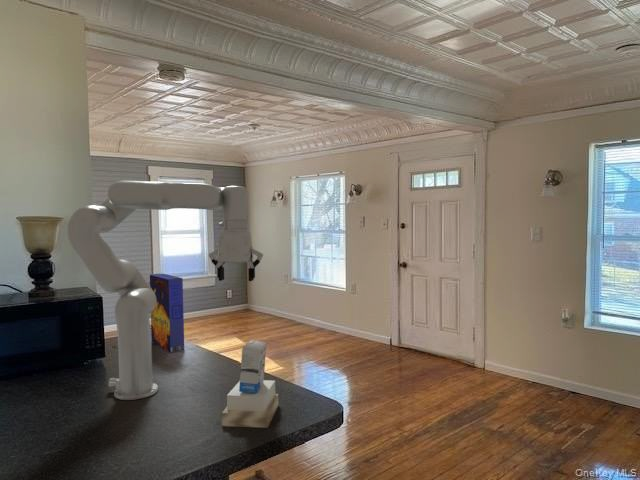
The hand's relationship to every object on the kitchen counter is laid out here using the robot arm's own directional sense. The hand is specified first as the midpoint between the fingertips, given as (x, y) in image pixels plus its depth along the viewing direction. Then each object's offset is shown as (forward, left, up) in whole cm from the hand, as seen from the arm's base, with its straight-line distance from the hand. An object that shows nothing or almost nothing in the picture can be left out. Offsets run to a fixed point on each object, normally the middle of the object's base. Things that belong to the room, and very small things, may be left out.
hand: (236, 280), depth 144 cm
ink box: (+10, -20, -27) cm, 35 cm away
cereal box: (-44, +44, -34) cm, 71 cm away
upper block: (+10, -19, -31) cm, 38 cm away
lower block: (+10, -20, -35) cm, 41 cm away
